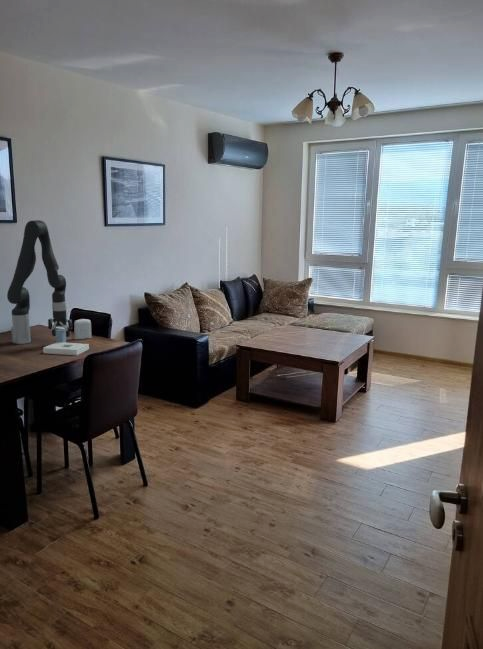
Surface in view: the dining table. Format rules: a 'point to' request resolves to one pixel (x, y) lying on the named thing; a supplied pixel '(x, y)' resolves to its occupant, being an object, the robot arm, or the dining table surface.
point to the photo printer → (82, 329)
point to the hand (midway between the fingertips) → (61, 336)
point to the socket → (66, 348)
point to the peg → (61, 336)
